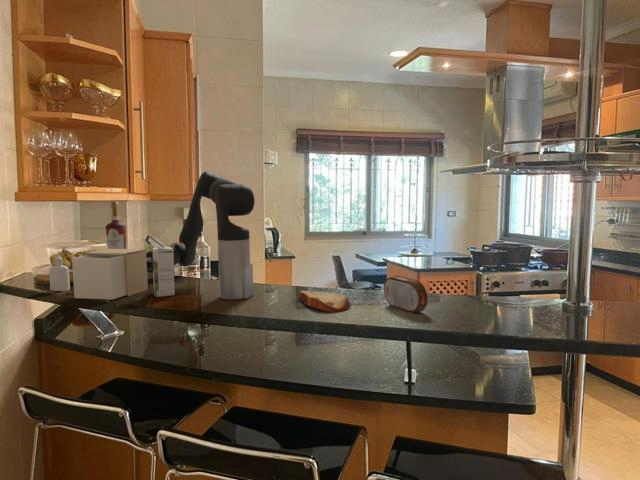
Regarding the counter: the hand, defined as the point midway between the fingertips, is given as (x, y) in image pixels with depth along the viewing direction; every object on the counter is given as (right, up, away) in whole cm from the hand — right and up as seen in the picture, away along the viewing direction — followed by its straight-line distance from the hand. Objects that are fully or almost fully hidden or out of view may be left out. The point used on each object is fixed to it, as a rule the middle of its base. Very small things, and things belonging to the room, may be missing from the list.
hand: (128, 267), depth 157 cm
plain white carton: (-2, -7, -8) cm, 11 cm away
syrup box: (+15, -8, -10) cm, 19 cm away
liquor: (-16, -4, +30) cm, 34 cm away
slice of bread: (+63, -9, -24) cm, 68 cm away
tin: (+85, -9, -32) cm, 91 cm away
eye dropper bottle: (-21, -8, -2) cm, 23 cm away
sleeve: (-1, -7, -5) cm, 9 cm away
